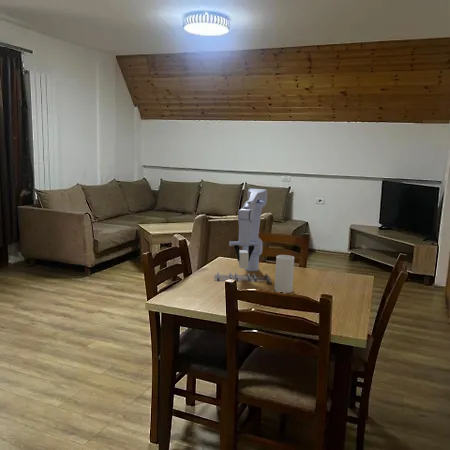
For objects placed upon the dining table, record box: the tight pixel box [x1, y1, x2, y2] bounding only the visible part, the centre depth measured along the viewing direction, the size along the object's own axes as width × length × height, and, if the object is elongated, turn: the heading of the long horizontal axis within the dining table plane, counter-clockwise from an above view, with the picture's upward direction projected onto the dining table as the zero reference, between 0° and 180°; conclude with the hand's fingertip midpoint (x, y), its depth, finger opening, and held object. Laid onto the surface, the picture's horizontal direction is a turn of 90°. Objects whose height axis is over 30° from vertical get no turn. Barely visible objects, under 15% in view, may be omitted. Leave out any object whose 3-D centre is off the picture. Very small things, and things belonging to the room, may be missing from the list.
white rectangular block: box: [238, 249, 249, 269], centre depth 223 cm, size 8×4×7 cm, turn 2°
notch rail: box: [213, 271, 273, 285], centre depth 225 cm, size 11×28×2 cm, turn 92°
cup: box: [274, 254, 295, 294], centre depth 210 cm, size 8×8×16 cm
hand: (243, 260), depth 224 cm, fingers closed on white rectangular block, 4 cm apart
